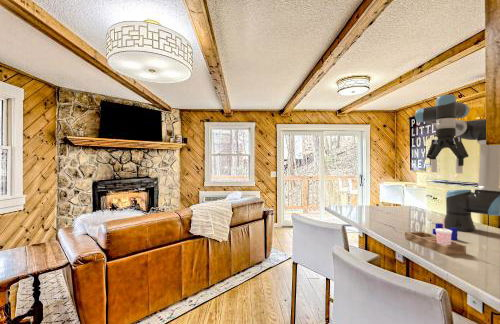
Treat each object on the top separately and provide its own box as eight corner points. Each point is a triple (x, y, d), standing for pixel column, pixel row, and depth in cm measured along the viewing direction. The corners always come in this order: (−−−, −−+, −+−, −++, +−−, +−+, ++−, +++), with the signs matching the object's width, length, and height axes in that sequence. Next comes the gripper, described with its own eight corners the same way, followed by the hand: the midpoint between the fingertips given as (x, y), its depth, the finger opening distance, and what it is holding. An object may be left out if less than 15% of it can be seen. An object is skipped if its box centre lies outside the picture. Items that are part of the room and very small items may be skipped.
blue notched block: (432, 234, 145) (432, 223, 145) (440, 234, 145) (440, 223, 145) (448, 240, 133) (448, 228, 133) (457, 240, 133) (457, 228, 133)
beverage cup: (436, 246, 123) (435, 217, 123) (452, 249, 119) (452, 218, 119) (434, 250, 118) (434, 219, 118) (451, 253, 114) (451, 221, 114)
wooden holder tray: (405, 238, 135) (405, 232, 135) (422, 238, 137) (422, 231, 137) (445, 254, 112) (445, 246, 112) (466, 253, 113) (466, 245, 113)
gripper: (418, 131, 136) (418, 171, 136) (463, 124, 111) (463, 173, 111) (431, 131, 137) (431, 171, 137) (478, 124, 112) (478, 173, 112)
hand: (445, 172), depth 124 cm, fingers open, 13 cm apart
